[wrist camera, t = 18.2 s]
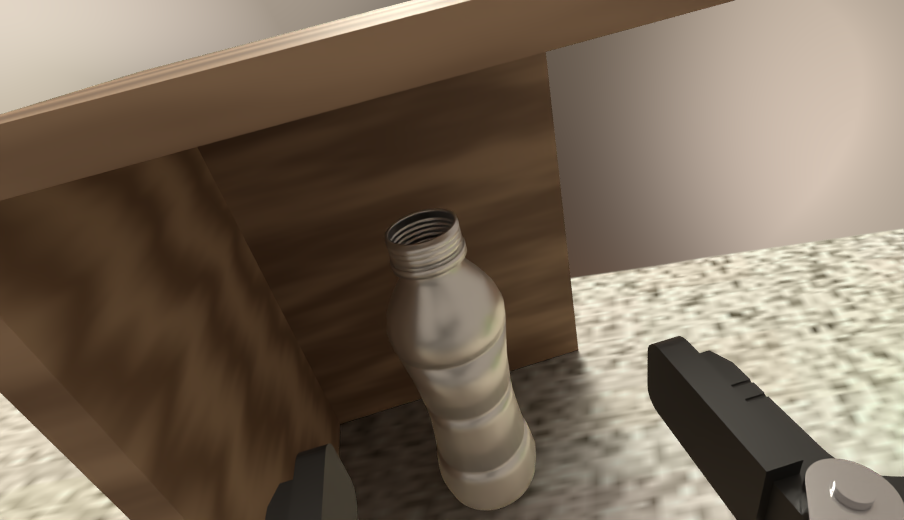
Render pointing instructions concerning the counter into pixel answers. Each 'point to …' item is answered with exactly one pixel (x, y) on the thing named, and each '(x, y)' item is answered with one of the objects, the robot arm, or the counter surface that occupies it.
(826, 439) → the counter surface
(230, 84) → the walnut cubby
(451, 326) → the plastic bottle
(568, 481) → the counter surface
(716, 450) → the robot arm
